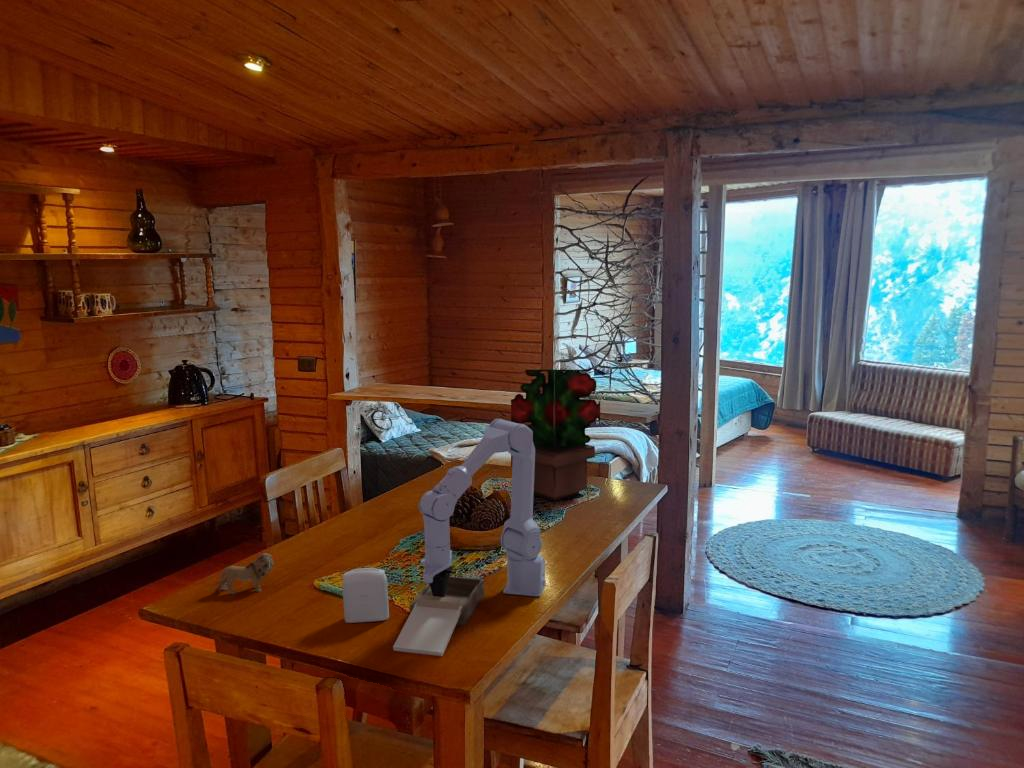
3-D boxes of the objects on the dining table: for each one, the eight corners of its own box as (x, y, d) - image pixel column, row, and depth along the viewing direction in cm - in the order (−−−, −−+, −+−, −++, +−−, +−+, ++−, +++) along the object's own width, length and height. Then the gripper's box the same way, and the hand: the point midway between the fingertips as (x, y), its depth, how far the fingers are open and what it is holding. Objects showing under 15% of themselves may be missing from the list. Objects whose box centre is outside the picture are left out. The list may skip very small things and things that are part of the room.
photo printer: (343, 624, 168) (340, 574, 166) (345, 616, 172) (342, 566, 170) (388, 622, 169) (386, 571, 167) (389, 613, 173) (387, 564, 171)
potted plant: (557, 481, 276) (556, 363, 269) (599, 494, 259) (600, 369, 252) (512, 493, 262) (510, 369, 255) (554, 508, 246) (553, 376, 238)
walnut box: (435, 589, 185) (434, 574, 184) (484, 594, 182) (484, 579, 181) (410, 621, 169) (409, 605, 168) (464, 626, 166) (463, 610, 165)
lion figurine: (275, 581, 191) (272, 549, 190) (275, 590, 186) (273, 556, 185) (214, 590, 187) (212, 557, 185) (213, 599, 182) (210, 565, 180)
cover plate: (417, 604, 169) (415, 594, 168) (462, 609, 167) (461, 598, 166) (393, 650, 156) (391, 639, 155) (442, 656, 153) (440, 644, 152)
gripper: (431, 530, 174) (433, 584, 176) (409, 554, 160) (411, 612, 162) (459, 532, 172) (461, 587, 175) (439, 556, 158) (441, 615, 161)
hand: (439, 599), depth 168 cm, fingers closed
